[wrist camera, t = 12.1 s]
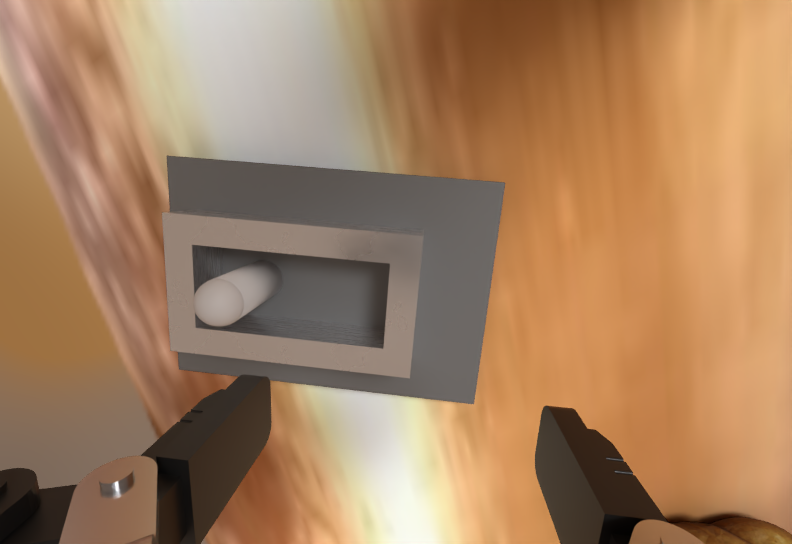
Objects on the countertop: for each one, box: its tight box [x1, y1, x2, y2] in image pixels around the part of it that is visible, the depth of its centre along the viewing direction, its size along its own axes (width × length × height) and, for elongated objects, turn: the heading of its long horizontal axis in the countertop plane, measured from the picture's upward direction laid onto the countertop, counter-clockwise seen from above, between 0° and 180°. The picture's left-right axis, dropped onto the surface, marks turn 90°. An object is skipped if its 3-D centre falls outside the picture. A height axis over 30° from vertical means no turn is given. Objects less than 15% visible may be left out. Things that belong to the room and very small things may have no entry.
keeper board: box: [167, 156, 505, 404], centre depth 21 cm, size 20×14×8 cm
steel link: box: [162, 210, 424, 378], centre depth 21 cm, size 14×8×3 cm, turn 85°
